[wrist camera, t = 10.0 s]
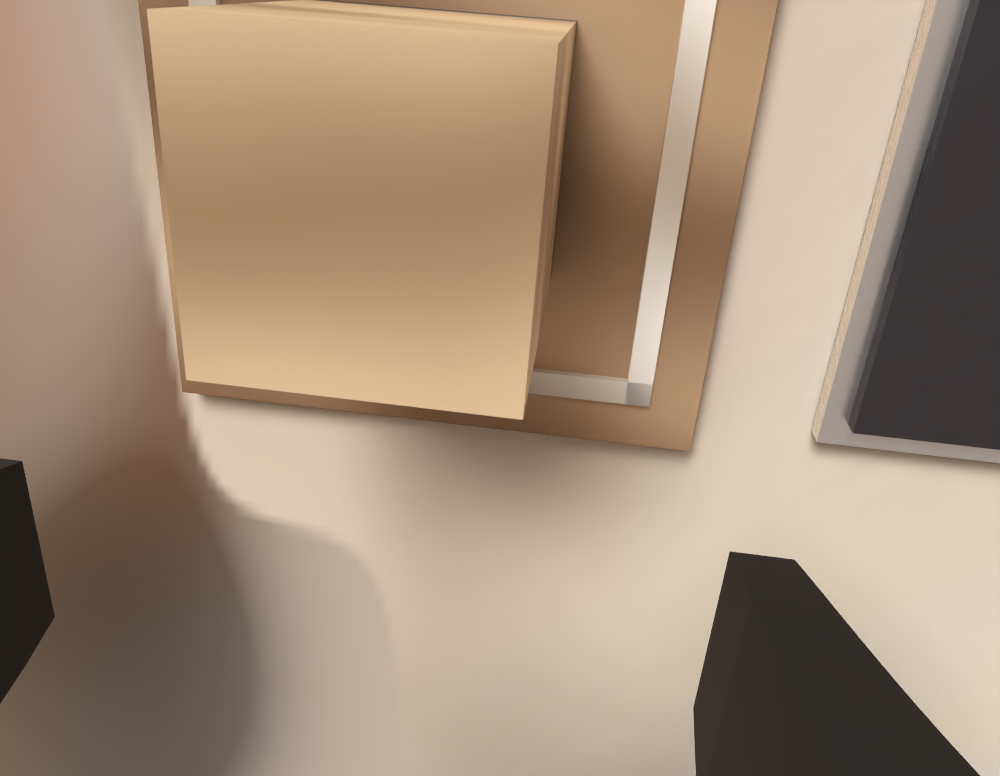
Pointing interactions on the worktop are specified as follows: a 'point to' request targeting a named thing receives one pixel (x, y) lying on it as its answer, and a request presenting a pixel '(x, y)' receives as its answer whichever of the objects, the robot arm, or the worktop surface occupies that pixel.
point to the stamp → (363, 196)
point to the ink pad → (929, 260)
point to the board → (612, 215)
